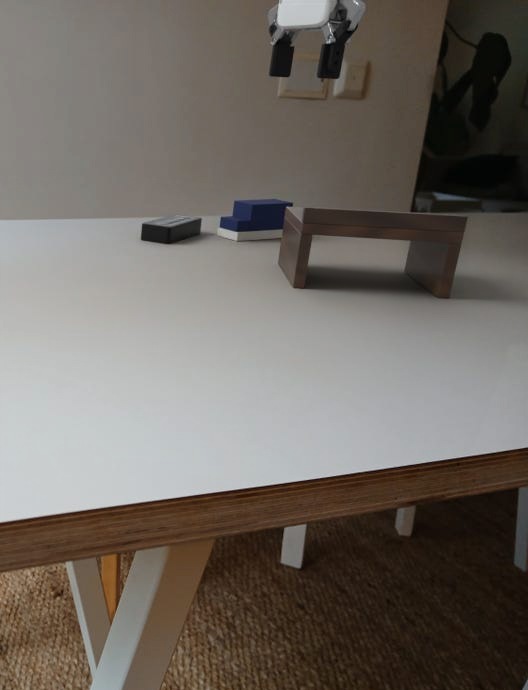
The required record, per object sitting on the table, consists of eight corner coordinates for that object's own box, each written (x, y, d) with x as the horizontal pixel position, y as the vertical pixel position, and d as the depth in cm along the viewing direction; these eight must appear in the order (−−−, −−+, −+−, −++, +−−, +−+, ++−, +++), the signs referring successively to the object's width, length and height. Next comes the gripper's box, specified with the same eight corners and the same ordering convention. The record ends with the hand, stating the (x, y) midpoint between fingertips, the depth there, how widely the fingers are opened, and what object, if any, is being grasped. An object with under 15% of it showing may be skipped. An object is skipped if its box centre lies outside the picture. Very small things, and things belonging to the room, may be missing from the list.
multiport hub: (139, 239, 103) (140, 222, 102) (174, 229, 111) (175, 213, 110) (168, 244, 100) (169, 227, 100) (201, 233, 109) (202, 217, 108)
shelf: (414, 272, 89) (429, 200, 86) (449, 298, 78) (468, 216, 75) (277, 263, 91) (287, 192, 88) (292, 287, 80) (305, 207, 77)
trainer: (269, 231, 112) (274, 198, 110) (290, 237, 108) (295, 202, 106) (217, 235, 108) (220, 200, 106) (236, 241, 104) (241, 205, 102)
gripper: (402, -77, 86) (372, 80, 92) (304, -57, 101) (283, 77, 107) (352, -85, 83) (324, 78, 89) (258, -63, 98) (240, 75, 104)
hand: (302, 77), depth 98 cm, fingers open, 9 cm apart
